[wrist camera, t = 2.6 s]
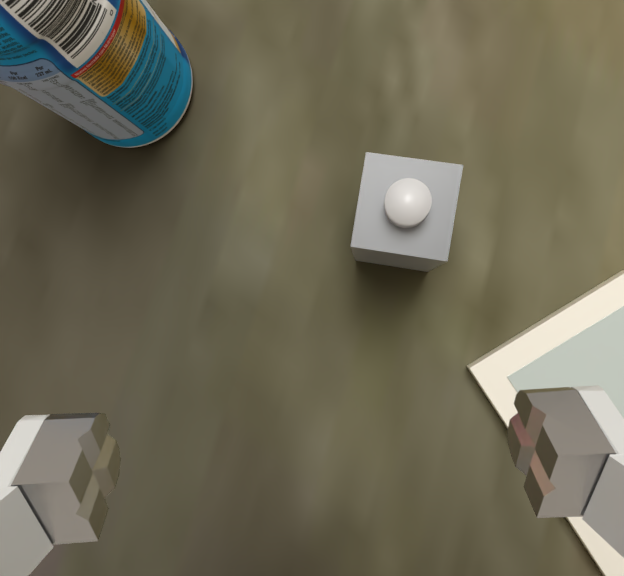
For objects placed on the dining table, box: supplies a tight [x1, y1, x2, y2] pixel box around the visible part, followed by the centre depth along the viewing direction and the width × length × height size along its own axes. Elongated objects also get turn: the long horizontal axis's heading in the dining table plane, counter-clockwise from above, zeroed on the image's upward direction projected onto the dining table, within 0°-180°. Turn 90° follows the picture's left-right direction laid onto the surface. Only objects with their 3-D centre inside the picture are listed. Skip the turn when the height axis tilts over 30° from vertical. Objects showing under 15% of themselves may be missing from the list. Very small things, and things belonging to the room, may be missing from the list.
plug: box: [351, 152, 463, 272], centre depth 27 cm, size 4×4×9 cm
